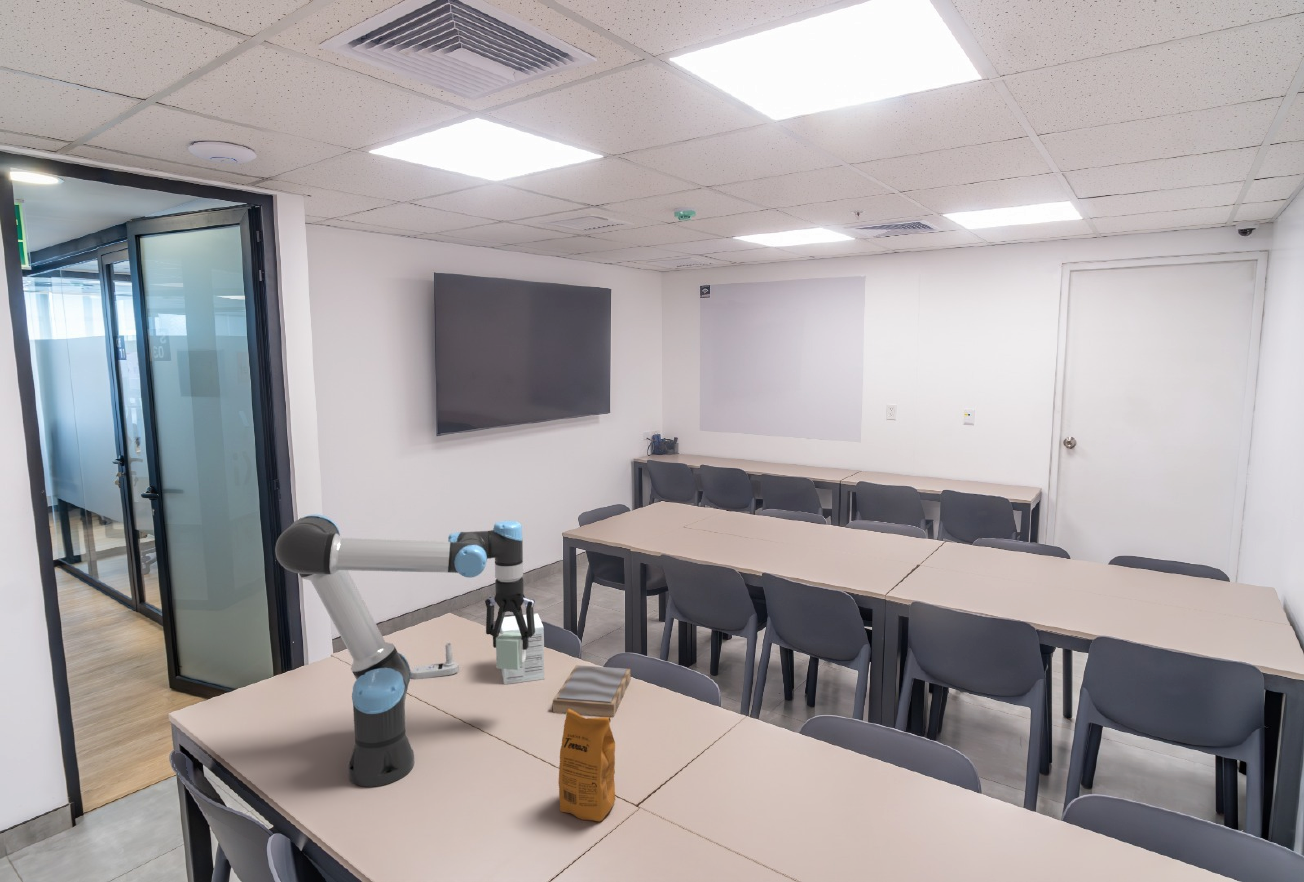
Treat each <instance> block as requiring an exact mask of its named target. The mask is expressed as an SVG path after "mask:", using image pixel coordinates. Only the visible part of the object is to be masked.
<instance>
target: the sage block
mask: <svg viewBox="0 0 1304 882" xmlns="http://www.w3.org/2000/svg"><path fill="white" fill-rule="evenodd" d="M521 637H522V636H521V633H515V632H504V633H503V634H502V635H501V636H500V637H499V638H498V639H497V640H496V648H495V651H496V652H495V653H496V657H497V660H496V669H500V670H501V669H513V670H518V669H519V668H520V667H521V665H522V664H523V663H524V662H525V660H524V661H523V662H520V652H519V639H520V638H521ZM496 657H495V658H496Z"/></svg>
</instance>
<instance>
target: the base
mask: <svg viewBox="0 0 1304 882" xmlns="http://www.w3.org/2000/svg"><path fill="white" fill-rule="evenodd" d="M631 671H632V670H631V668H622V667H621V668H620V667H608V666H607V667H605V666H593V665H579V664H576V665H575V666H574V668H573V669H572V671H571V672H570V673H569V675H568V677H567V678H566V680H565V681H564V683H563V684H562V685H561V687H560V689H559V690H558V692H557V693H556V695H555V696H554V698H553V699H552V712H553V713H558V714H567V710H568V709H571V710H572V711H574V712H576V713H577V714H579V715H581V716H582V715H583V716H592V717H593V716H594V717H595V716H596V717H610V718H615V716H616V713H617V711H618V709H619V707H620V705H621V702H622V700H623V698H624V695H625V693H626V691H627V689H628V686H630V685H629V684H630V682H631V679H632V678H631V677H632V675H631Z"/></svg>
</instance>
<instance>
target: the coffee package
mask: <svg viewBox="0 0 1304 882" xmlns="http://www.w3.org/2000/svg"><path fill="white" fill-rule="evenodd" d="M565 716H566V717H565V720H564V725H563V732H562V733H563V734H562V739H561V746H560V750H559V751H560V752H559V766H558V767H559V768H558V797H559V799H558V800H559V812H561V813H566V814H572V815H573V816H575V817H576V818H578V819H579V820H582V821H594V822H601V821H604V820H605V817H606V816H607V815H608V814H609V812H610V811H611V810H612V809H613V806H614V805H615V801H616V785H615V773H616V770H615V768H616V767H615V765H616V754H615V753H616V740H615V738H614V735H613V732H612V729H611V725H610V724H611V720H612V719H611V717H605V716H599V717H587V718H586V717H584V716H582V715H581V714H577V713H576V712H574V711H572V710H571V709H568V710H567V713H565Z"/></svg>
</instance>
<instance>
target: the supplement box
mask: <svg viewBox="0 0 1304 882" xmlns="http://www.w3.org/2000/svg"><path fill="white" fill-rule="evenodd" d="M523 617H524V620H525V623H526V626H527V618H526V614H523ZM534 624H535V634H534V635H533V636H532V637H529V638H528V639H529V646H528V648H527V649H526V659H525V662H524V663H523V664H522V665H521V667H520V668H519V669H518V670H513V669H500V671H501V677H502V681H503V684H504V685H509V684H517V683H523V682H531V681H538V680H545V637H544V636H545V635H544V634H545V631H544V629H545V628H544V625H543V623H542V619H541V618H540V615H539V613H534ZM504 632H515V633H520V630H519V627H518V624H517V621H516V618H515V616H514V615H511V616H504V619H503V623H502V626H501V629H500V633H499V634H503V633H504Z"/></svg>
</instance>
